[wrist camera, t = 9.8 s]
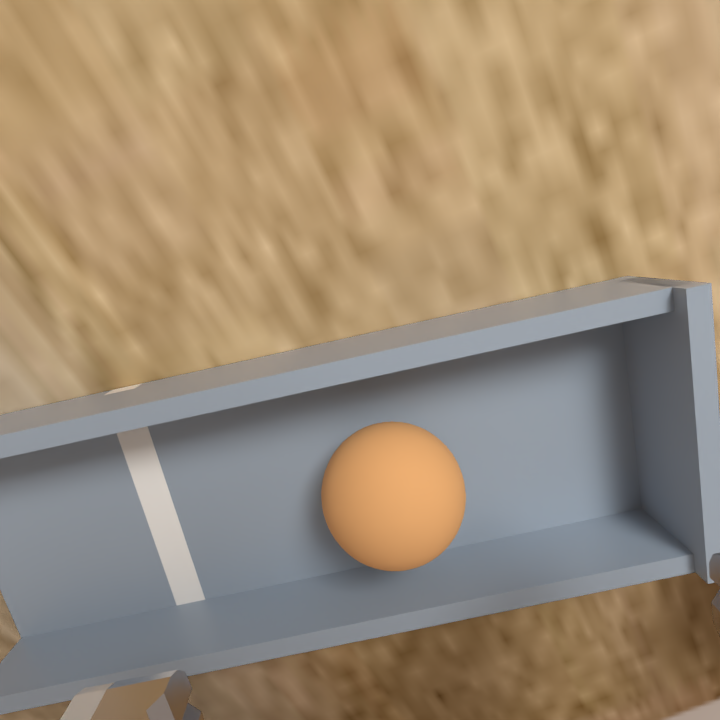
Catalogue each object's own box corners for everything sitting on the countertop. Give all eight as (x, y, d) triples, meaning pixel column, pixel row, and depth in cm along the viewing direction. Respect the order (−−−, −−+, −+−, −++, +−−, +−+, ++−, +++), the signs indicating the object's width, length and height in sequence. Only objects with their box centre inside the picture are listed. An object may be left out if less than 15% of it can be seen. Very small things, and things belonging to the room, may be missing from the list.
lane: (-53, 426, 16) (-169, 477, 12) (626, 275, 15) (711, 283, 12) (38, 639, 17) (-41, 736, 14) (650, 511, 17) (729, 579, 13)
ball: (328, 411, 16) (284, 468, 12) (454, 393, 15) (449, 449, 11) (355, 522, 16) (322, 608, 13) (476, 512, 15) (478, 603, 12)
